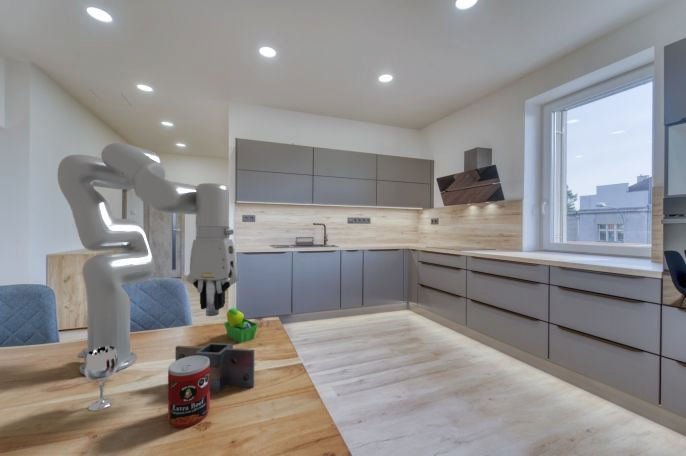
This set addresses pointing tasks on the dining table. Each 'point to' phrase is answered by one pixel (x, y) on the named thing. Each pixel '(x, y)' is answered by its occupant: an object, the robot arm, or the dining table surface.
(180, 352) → the hinge leaf
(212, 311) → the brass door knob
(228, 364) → the hinge leaf
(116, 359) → the wineglass
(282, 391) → the dining table surface
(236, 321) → the fruit basket
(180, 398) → the canned food
